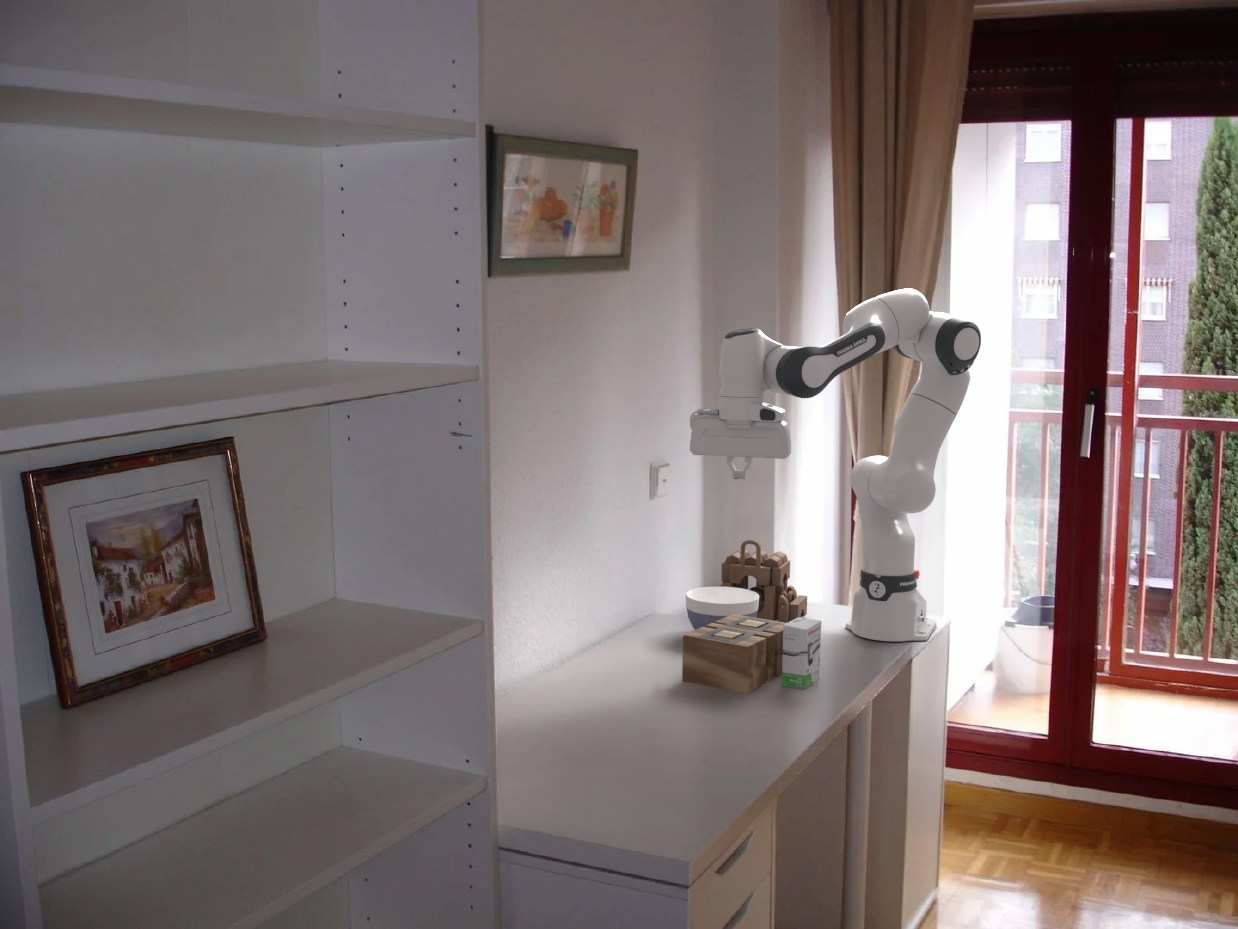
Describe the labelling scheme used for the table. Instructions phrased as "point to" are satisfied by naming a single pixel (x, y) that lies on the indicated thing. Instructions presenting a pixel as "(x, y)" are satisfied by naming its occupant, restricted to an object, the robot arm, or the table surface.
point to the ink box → (801, 652)
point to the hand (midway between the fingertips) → (739, 479)
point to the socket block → (733, 654)
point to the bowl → (719, 604)
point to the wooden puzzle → (765, 582)
